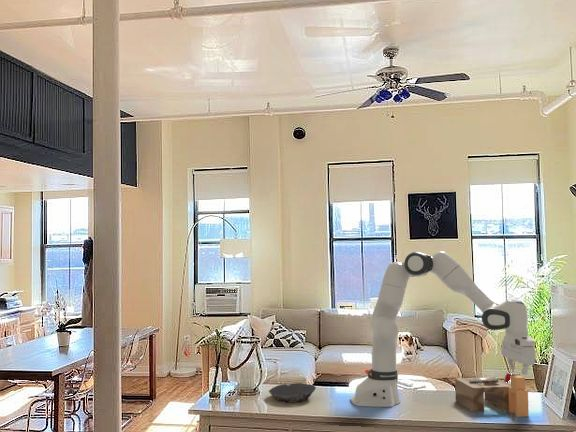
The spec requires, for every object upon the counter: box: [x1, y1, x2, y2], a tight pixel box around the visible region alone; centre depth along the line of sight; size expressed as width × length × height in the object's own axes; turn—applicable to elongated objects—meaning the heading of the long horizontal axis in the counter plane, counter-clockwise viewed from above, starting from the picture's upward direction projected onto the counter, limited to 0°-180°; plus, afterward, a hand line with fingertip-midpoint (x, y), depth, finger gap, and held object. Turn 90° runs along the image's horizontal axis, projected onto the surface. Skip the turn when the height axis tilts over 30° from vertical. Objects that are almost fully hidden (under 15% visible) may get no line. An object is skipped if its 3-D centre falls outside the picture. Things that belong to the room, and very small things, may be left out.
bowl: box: [268, 382, 317, 404], centre depth 251 cm, size 22×22×5 cm
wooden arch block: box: [454, 376, 511, 413], centre depth 240 cm, size 19×17×12 cm
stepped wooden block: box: [508, 374, 529, 418], centre depth 227 cm, size 5×6×16 cm
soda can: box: [504, 371, 521, 383], centre depth 249 cm, size 7×7×12 cm
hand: (518, 371), depth 228 cm, fingers open, 8 cm apart
